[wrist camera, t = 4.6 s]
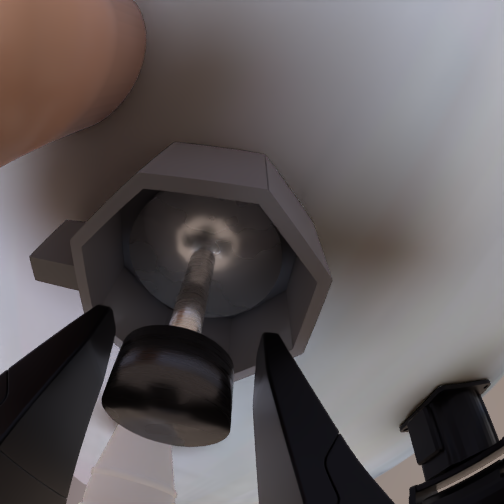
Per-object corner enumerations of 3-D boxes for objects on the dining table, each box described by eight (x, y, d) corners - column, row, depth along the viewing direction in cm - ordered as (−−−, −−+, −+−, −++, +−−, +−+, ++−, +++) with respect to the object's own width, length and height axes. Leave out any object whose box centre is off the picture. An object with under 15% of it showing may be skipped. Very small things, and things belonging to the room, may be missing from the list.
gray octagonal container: (327, 166, 10) (357, 206, 7) (282, 325, 14) (287, 388, 11) (69, 136, 10) (10, 164, 7) (85, 292, 14) (54, 345, 10)
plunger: (296, 193, 10) (342, 358, 4) (265, 316, 13) (268, 471, 7) (134, 170, 10) (8, 299, 4) (137, 296, 13) (81, 437, 7)
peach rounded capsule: (160, -24, 7) (72, -94, 2) (136, 133, 10) (32, 195, 5) (28, 0, 6) (-81, -4, 1) (16, 132, 9) (-89, 186, 4)
